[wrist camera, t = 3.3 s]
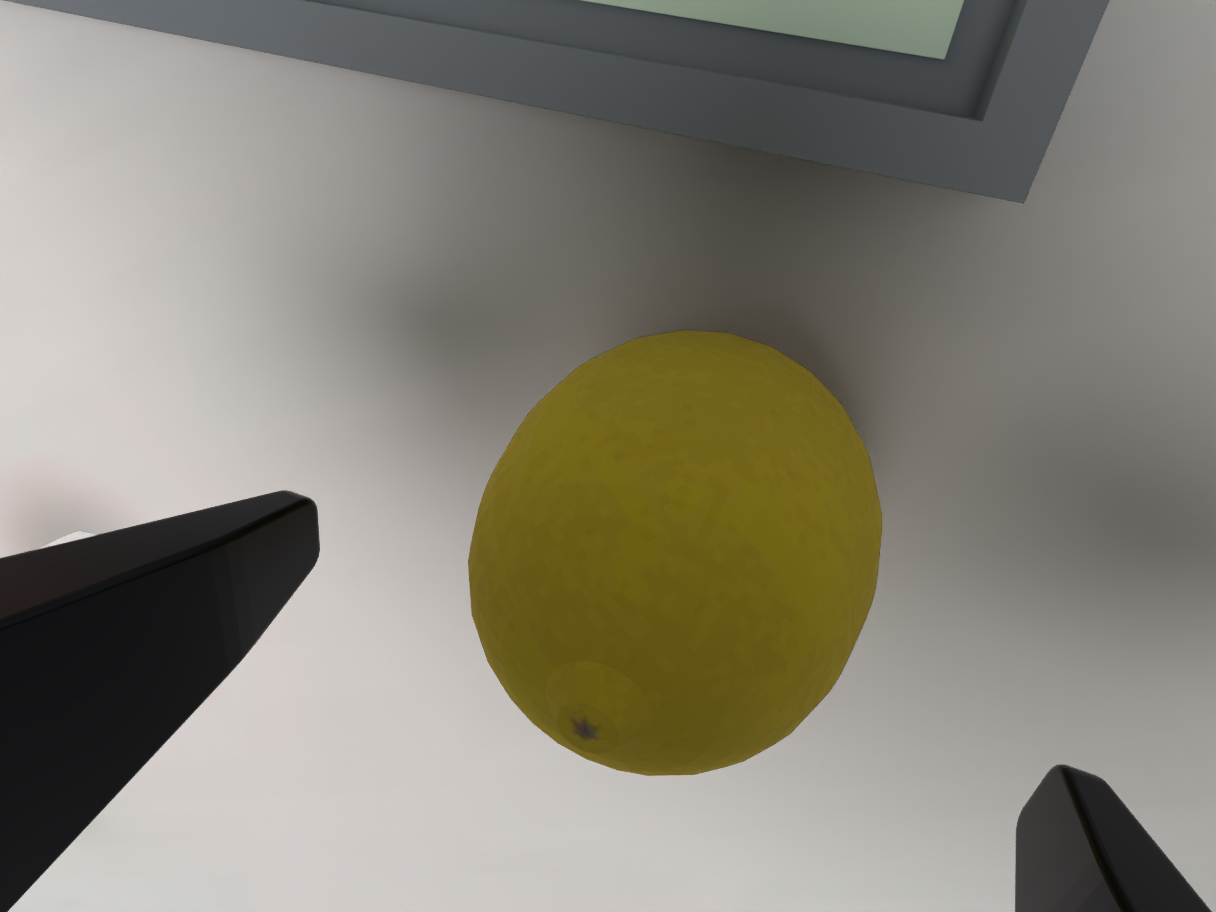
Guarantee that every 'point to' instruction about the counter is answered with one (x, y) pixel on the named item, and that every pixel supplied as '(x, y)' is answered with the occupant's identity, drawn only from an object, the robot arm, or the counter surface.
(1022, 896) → the robot arm
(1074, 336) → the counter surface
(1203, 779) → the counter surface
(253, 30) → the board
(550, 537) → the lemon
